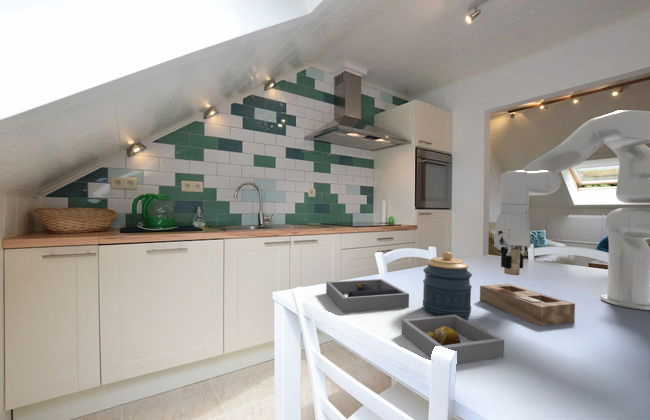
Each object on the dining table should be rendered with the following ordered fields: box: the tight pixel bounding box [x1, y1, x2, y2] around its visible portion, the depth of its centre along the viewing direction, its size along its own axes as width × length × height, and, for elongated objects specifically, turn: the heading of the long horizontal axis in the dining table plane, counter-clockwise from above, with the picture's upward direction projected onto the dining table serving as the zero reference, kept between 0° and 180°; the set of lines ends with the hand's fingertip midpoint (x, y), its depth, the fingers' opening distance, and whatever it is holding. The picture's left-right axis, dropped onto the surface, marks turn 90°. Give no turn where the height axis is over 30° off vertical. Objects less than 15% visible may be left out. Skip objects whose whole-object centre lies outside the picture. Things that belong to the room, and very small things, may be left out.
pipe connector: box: [347, 283, 399, 297], centre depth 89 cm, size 12×5×15 cm
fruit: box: [424, 326, 461, 346], centre depth 63 cm, size 8×8×4 cm
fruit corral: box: [401, 315, 505, 366], centre depth 62 cm, size 15×14×4 cm
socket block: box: [479, 283, 576, 327], centre depth 84 cm, size 12×20×5 cm, turn 16°
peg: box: [503, 247, 521, 276], centre depth 89 cm, size 4×4×8 cm
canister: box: [422, 251, 473, 320], centre depth 82 cm, size 13×13×18 cm
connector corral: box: [325, 278, 410, 314], centre depth 91 cm, size 21×18×4 cm
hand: (511, 267), depth 89 cm, fingers closed on peg, 4 cm apart
